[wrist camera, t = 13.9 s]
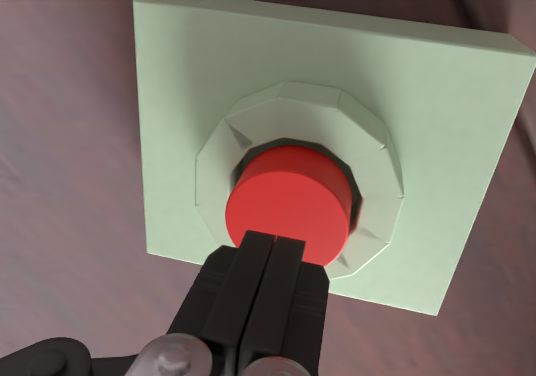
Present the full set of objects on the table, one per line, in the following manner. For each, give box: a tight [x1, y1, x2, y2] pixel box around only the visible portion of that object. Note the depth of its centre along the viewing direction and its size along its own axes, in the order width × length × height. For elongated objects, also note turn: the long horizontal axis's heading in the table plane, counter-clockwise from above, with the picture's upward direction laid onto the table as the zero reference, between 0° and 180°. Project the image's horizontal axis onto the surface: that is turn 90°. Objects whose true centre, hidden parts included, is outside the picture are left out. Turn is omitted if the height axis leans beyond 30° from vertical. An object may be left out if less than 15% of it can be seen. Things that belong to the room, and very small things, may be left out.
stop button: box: [225, 145, 352, 267], centre depth 13 cm, size 4×4×2 cm
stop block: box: [133, 0, 536, 315], centre depth 16 cm, size 12×10×5 cm
